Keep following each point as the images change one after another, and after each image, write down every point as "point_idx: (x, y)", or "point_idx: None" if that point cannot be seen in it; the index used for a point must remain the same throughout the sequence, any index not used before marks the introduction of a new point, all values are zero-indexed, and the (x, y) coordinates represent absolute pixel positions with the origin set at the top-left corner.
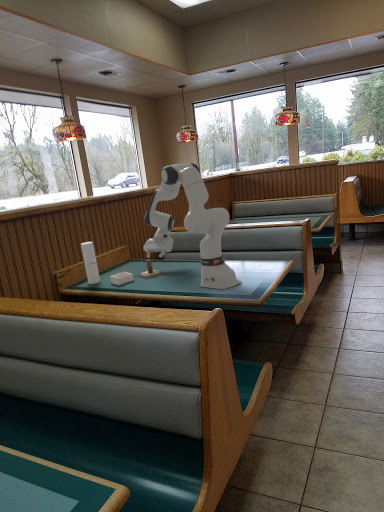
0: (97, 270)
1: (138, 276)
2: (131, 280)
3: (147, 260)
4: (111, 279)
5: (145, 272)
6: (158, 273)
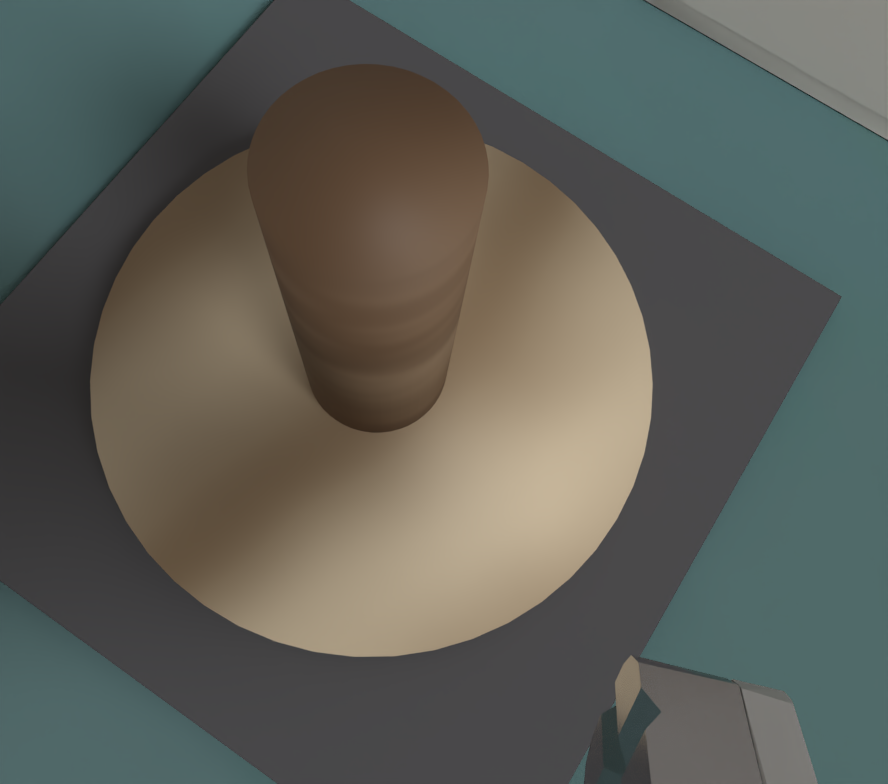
0: None
1: (664, 240)
2: None
3: (425, 155)
4: None
5: (573, 429)
6: (110, 300)
